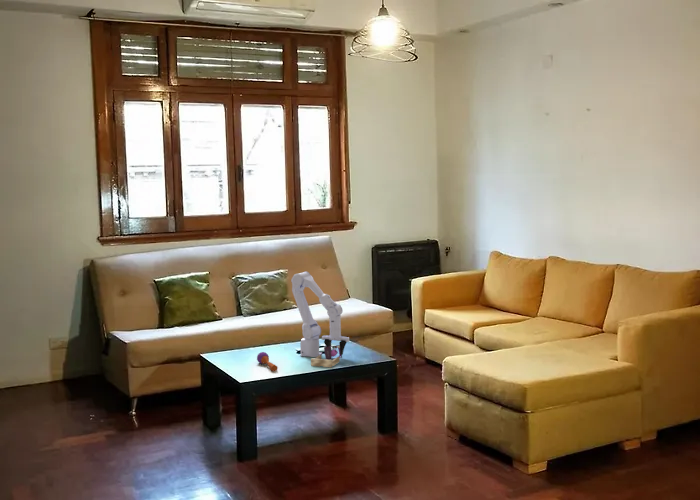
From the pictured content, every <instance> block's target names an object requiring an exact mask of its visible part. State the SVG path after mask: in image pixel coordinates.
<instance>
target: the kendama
mask: <svg viewBox="0 0 700 500" xmlns="http://www.w3.org/2000/svg"><path fill="white" fill-rule="evenodd" d="M256 360H257V362H258V363H259V364H261V365H267V366H268V367H269V368H270V370H271V371H272V372H277V371H278V368H279V367H278V365H276V364H274V363H273V362H271V361H270V356H269V354H268V353H266V352H264V351H261V352H259V353H258V354H257V356H256Z"/></svg>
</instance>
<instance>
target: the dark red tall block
mask: <svg viewBox="0 0 700 500" xmlns="http://www.w3.org/2000/svg"><path fill="white" fill-rule="evenodd" d="M330 347H331V350H330ZM323 350H324V356H325V358H324V359H326V360H334V359H335V358H336V356H337V355H338V357H340V359H343V354H342V355H340V344H337V345H331V346H328V347H326V346H323ZM332 357H333V358H332Z"/></svg>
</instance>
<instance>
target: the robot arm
mask: <svg viewBox="0 0 700 500" xmlns="http://www.w3.org/2000/svg"><path fill="white" fill-rule="evenodd" d="M290 281H291V292H292V295H293V298H294V300H295V303H296V306H297V309H298V311H299V313H300V316H301V320H302V324H301V325H302V326H301V329H302V338H301V340H300V354H299V355H300V356H301V357H310V358H316V357H318V356H319V355H322V354H323V352H320V336H321V334H322V328H321V326H320V325H319V324H318V321H316V319H314V318H313V315H312V313H311V309H310V307H309V303H308V301H307V299H306V298H307V297H306V295H305V293H304V290H305V288H309V289H310V290H311V291H312V293H314V295H315V296H316V297H318V299H319V303H320V304H321V305H322V307H324V308H325V310H326V311H327V313H326V314H327V315H328V317H329V335H322V336H321V340H322V341H323V343H324V345H325V347H328V346H332V342H333V341H339V343H338V345H340V355H342V356H343V354H344V350H345V347H346V345H347V343H348V342H350V337H349V336H348V337H347V336H342V333H341V332H342V324H341V323H342V322H341V320H342V318H341V315H342V313H343V307H342V306H341V305H340V304H338V303H336V302H335V301H334V300H333V299H332V298H331V295H330V294H328V293H324V292H323V290H322V288H320V286H319V285H318V284H317V282H316V281H315V280H314V277H313V276H312V275H311V274H310V272H308V271H303V272H300V273H295V274H293V275H292V277H291V280H290ZM330 350H331V351H332V347H330Z"/></svg>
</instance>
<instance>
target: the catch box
mask: <svg viewBox="0 0 700 500" xmlns="http://www.w3.org/2000/svg"><path fill="white" fill-rule="evenodd" d="M340 357H341V356H340ZM340 357H339V356H337V357H334V358H335V359H331V360H326V358H323V357H322V354H321V355H319V356H317V357H310V366H311V367H320V366H323V367H324V368H333V367H334V366H336V365H337V364H339V363H340V362H341V358H340ZM332 366H333V367H332ZM323 367H322V368H323Z"/></svg>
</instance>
